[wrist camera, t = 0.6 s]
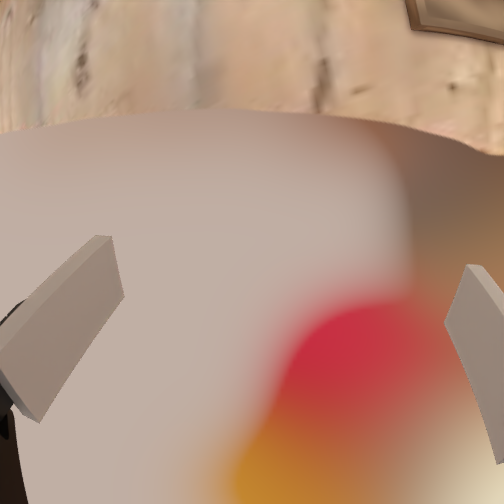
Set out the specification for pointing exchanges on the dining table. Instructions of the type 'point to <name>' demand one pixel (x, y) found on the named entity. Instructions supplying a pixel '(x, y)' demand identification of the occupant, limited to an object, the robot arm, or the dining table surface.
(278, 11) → the dining table surface
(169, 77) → the dining table surface
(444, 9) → the walnut tray
